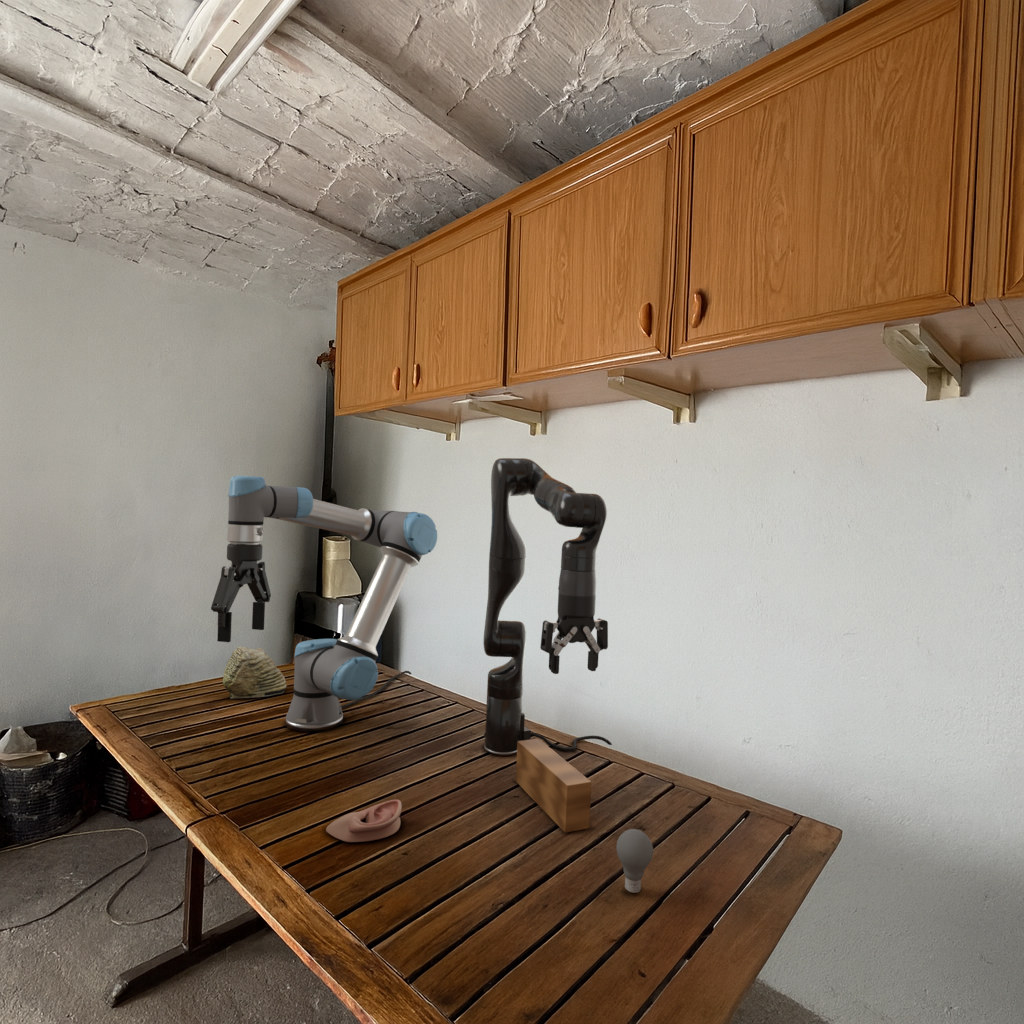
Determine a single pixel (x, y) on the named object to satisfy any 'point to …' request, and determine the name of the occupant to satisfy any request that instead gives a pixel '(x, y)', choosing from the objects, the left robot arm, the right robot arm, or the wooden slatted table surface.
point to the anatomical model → (368, 823)
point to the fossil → (252, 674)
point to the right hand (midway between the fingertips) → (573, 671)
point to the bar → (554, 785)
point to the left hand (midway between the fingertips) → (241, 635)
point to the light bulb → (634, 857)
